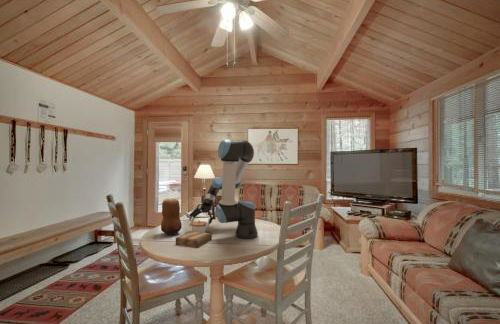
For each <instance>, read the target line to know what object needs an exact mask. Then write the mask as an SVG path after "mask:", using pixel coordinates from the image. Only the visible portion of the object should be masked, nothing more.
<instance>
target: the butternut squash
mask: <svg viewBox="0 0 500 324" xmlns="http://www.w3.org/2000/svg"><path fill="white" fill-rule="evenodd" d="M180 207H181V205H180V201H179V199H178V198H164V199H163V200H162V202H161V215H162V219H161V224H160V230H161V232H162V233H164V234H165V235H170V236H174V235H176V234H177V233H180V232H181V229H182V227H183V224H182V221H181V219H180V218H181V217H180V212H181V211H180V210H181V208H180Z"/></svg>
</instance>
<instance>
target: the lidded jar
mask: <svg viewBox="0 0 500 324" xmlns="http://www.w3.org/2000/svg"><path fill="white" fill-rule="evenodd" d="M207 222H208V221H200V220H198V221H193V223H191V231H193V232H202V233H207V229H208V228H206V224H207Z"/></svg>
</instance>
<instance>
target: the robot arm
mask: <svg viewBox="0 0 500 324" xmlns="http://www.w3.org/2000/svg"><path fill="white" fill-rule="evenodd" d="M217 156H218V158H219V159H220V162H221V163H222V177H219V176H217V177H215V178H214V179H213V180H212V182H211V184H210V186H209V188H208V190H207V193H206V195H205V197H204V199H203V201H202V203H201V205H198V204H197V206H196V208H194V210H193V211H191V213H190V214H189V218H190V219H189V222H188V226H189V227H190V228H192V225H191V223H193V222H195V218H196V217H197V216H198V215H200V214H202V213H203V214H204V213H205V214H206V213H207V214H208V216H209V218H208V219H207V221H206V222H207V224H206V228H207V229H209V227H210V225H211V224H212V222H213V220H216V219H217V221H218V222H219V223H222V224H227V223H228V224H229V223H235V222H237V226H236V230H235V232H234V233H235V237H236V238H238V239H242V240H243V239H245V240H251V239H254V238H257V237H258V234H259V233H258V229H257V226H256V205H255V203H254V202H252V201H247V200H246V201H245V200H239V201H237V200H236V199H235V198H236V190H237V189H240V188H241V185H242V182H241V179H242V177H243V175H244V173H245V172H246V169H247V167H248V165H249V163H251V162H253V161H252V160H253V158H254V156H255V149H254V147H253V145H252V144H251V143H250V142H249V140H248V141H247V140H244V139H222V140H221V141H220V143H219V145H218V149H217ZM220 190H221V198H220V200H219V201H218V204H217V205H216V206H214V203H215V200H216V198H217V196H218V194H219V191H220Z"/></svg>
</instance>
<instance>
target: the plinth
mask: <svg viewBox="0 0 500 324" xmlns="http://www.w3.org/2000/svg"><path fill="white" fill-rule="evenodd" d="M212 237H213V236H212V232H211V233H210V232H205V233H202V232H193V231H192V230H191V231H188V232H186V233H183V234H181V235H179V236H177V237H175V245H177V246H185V247H192V248H198V249H199V248H200V247H202V246H203V245H205V244H207V243H208V242H209V243H210V241H212Z"/></svg>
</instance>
